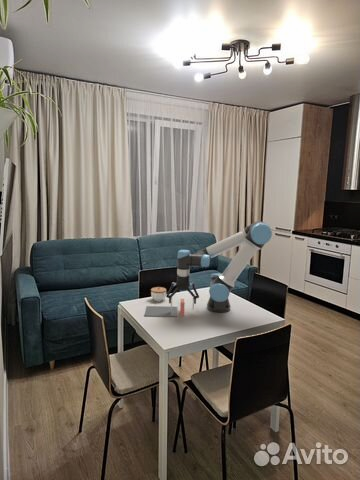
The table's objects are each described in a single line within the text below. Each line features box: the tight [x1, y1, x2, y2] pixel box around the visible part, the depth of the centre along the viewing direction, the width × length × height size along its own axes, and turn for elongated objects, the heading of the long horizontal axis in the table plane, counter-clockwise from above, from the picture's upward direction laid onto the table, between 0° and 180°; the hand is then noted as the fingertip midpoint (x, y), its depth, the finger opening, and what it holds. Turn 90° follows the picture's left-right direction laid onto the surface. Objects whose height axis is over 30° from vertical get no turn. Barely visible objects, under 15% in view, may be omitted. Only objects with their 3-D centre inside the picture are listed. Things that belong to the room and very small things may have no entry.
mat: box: [143, 305, 178, 318], centre depth 204 cm, size 20×16×1 cm
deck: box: [179, 298, 185, 317], centre depth 201 cm, size 2×9×8 cm, turn 1°
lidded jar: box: [150, 286, 167, 302], centre depth 225 cm, size 11×11×9 cm
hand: (182, 308), depth 201 cm, fingers open, 13 cm apart
